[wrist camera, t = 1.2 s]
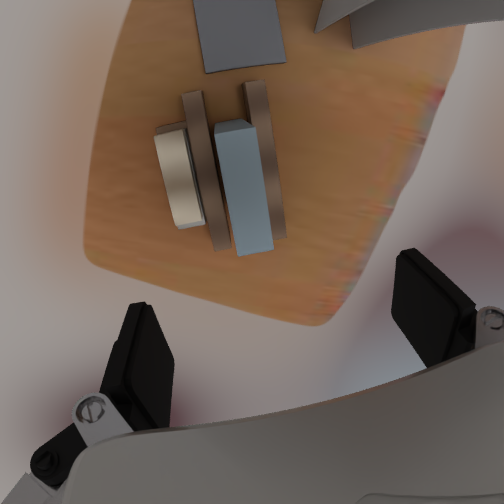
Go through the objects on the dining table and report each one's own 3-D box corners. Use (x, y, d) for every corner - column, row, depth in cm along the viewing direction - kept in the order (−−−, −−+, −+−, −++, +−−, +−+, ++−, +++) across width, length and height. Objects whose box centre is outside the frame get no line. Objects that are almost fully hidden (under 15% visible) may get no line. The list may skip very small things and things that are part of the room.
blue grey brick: (215, 123, 34) (214, 134, 21) (241, 118, 34) (255, 127, 22) (230, 203, 39) (237, 256, 26) (254, 198, 39) (273, 249, 26)
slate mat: (186, -40, 24) (186, -43, 23) (262, -49, 24) (263, -52, 23) (206, 73, 31) (205, 73, 30) (284, 62, 31) (286, 61, 30)
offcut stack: (158, 127, 33) (149, 130, 29) (187, 120, 33) (183, 122, 29) (180, 221, 39) (176, 237, 34) (207, 215, 39) (206, 231, 35)
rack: (185, 95, 32) (181, 94, 28) (259, 82, 32) (264, 79, 29) (214, 237, 40) (214, 251, 37) (280, 224, 40) (286, 237, 37)
